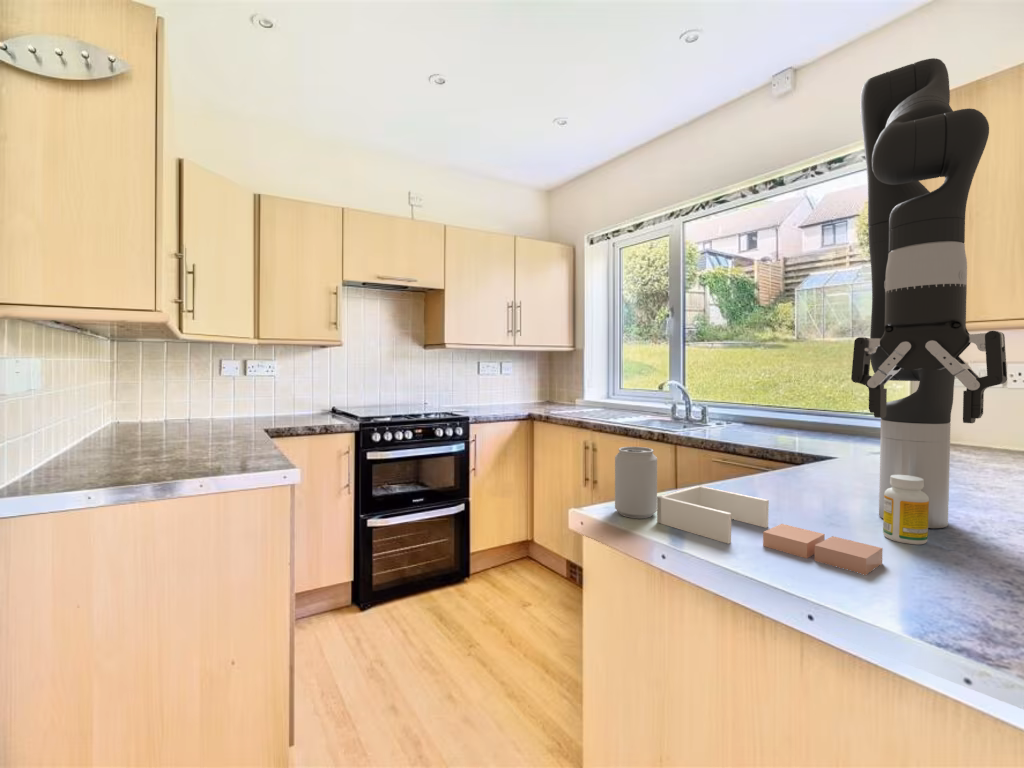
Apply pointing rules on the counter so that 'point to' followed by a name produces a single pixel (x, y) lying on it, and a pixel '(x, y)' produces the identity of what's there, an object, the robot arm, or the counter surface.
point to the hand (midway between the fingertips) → (921, 419)
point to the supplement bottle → (906, 510)
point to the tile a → (792, 540)
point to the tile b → (848, 554)
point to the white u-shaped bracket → (710, 511)
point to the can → (636, 482)
